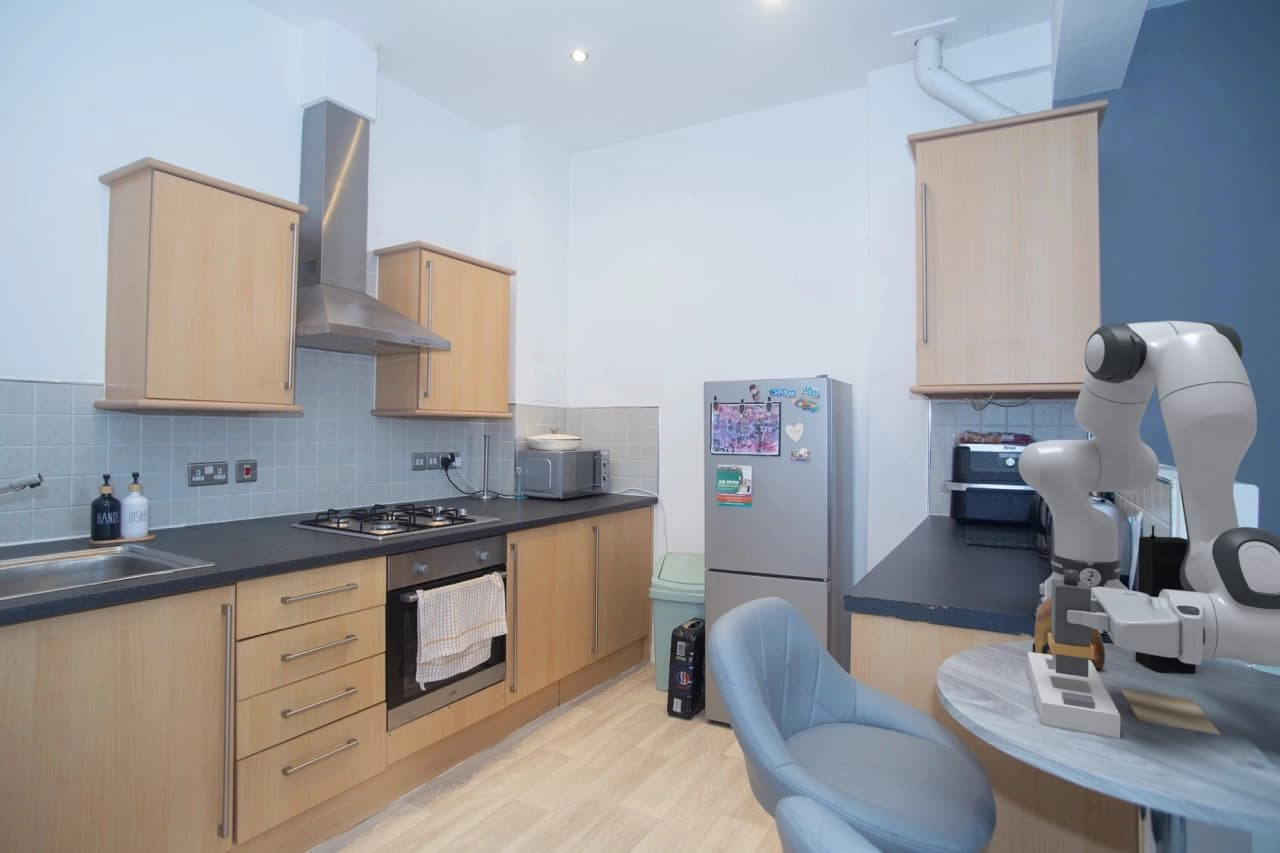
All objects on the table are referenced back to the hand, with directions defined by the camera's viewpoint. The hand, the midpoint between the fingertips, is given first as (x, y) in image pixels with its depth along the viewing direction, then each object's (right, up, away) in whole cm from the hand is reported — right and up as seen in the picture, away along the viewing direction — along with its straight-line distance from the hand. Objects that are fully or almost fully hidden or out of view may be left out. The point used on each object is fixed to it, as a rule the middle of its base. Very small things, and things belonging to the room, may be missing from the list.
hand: (1063, 609), depth 99 cm
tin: (+15, -15, +20) cm, 29 cm away
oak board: (+14, -15, -2) cm, 21 cm away
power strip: (+2, -15, +2) cm, 15 cm away
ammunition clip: (+8, -15, +17) cm, 24 cm away
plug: (+1, -9, 0) cm, 9 cm away
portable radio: (+29, -15, +17) cm, 37 cm away
